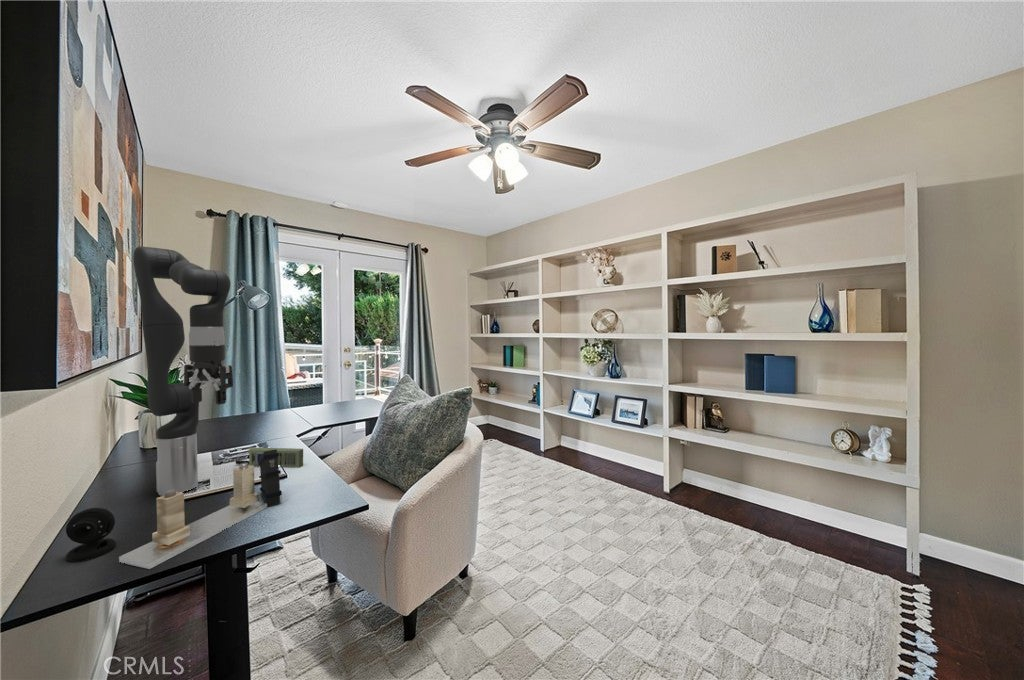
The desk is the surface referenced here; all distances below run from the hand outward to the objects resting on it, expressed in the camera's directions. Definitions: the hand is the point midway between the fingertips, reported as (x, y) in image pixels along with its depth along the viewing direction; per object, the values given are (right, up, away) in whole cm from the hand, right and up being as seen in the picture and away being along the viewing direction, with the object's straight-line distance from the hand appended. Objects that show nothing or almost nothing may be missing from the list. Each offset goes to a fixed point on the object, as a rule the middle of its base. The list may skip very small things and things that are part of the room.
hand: (208, 403), depth 102 cm
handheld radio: (-7, -30, +36) cm, 47 cm away
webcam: (-12, -31, -18) cm, 38 cm away
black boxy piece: (+10, -30, +10) cm, 33 cm away
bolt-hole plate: (+6, -30, -9) cm, 32 cm away
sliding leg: (+4, -29, -16) cm, 33 cm away
